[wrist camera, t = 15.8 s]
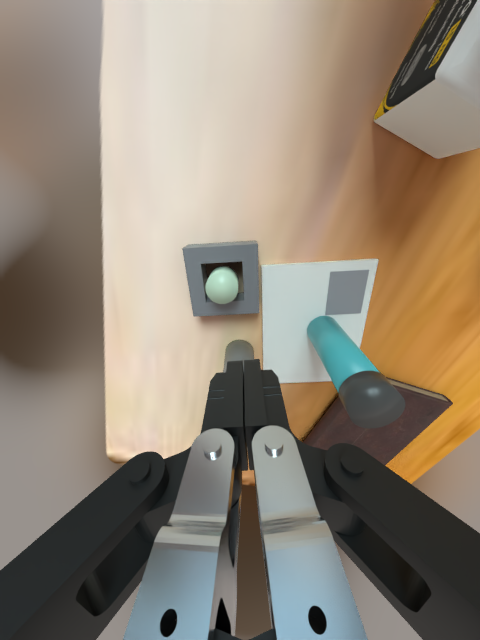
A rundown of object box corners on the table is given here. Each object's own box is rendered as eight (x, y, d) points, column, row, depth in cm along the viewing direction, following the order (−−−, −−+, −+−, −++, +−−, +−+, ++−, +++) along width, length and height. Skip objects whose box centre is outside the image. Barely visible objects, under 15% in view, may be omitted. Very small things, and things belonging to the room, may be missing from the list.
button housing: (188, 244, 23) (182, 248, 21) (256, 240, 23) (257, 243, 21) (197, 307, 26) (193, 316, 24) (257, 304, 26) (259, 313, 24)
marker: (307, 315, 26) (354, 390, 15) (340, 314, 26) (412, 388, 15) (304, 343, 27) (345, 429, 17) (336, 342, 27) (397, 427, 17)
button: (207, 266, 22) (203, 273, 20) (237, 264, 22) (236, 271, 20) (211, 294, 24) (207, 304, 21) (239, 293, 24) (239, 303, 21)
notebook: (444, 395, 32) (457, 406, 30) (364, 472, 40) (370, 484, 38) (357, 368, 29) (365, 378, 27) (289, 456, 37) (292, 469, 35)
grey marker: (223, 339, 28) (212, 420, 17) (253, 338, 28) (261, 418, 17) (226, 364, 30) (217, 451, 19) (254, 363, 30) (262, 450, 19)
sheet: (261, 264, 24) (261, 266, 23) (375, 258, 23) (379, 259, 23) (263, 380, 31) (263, 384, 30) (351, 377, 30) (353, 380, 30)
